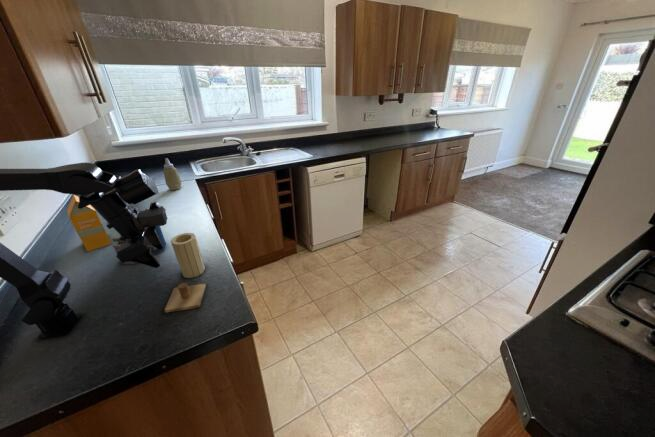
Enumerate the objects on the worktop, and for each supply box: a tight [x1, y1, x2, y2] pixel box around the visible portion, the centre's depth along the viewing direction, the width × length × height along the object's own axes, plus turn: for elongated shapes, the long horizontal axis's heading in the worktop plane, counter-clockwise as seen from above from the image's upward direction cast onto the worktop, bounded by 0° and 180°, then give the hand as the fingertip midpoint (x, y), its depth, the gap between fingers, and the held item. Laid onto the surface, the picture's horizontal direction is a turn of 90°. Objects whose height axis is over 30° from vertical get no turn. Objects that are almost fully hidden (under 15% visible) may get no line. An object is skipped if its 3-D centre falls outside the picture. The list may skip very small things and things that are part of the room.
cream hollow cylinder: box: [170, 232, 206, 279], centre depth 87 cm, size 7×7×13 cm
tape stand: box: [164, 282, 207, 314], centre depth 78 cm, size 9×9×5 cm
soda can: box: [150, 226, 167, 255], centre depth 99 cm, size 7×7×12 cm
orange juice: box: [66, 194, 112, 252], centre depth 102 cm, size 8×9×20 cm
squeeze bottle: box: [163, 157, 182, 191], centre depth 154 cm, size 8×8×18 cm
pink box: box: [111, 236, 137, 265], centre depth 93 cm, size 8×3×10 cm, turn 92°
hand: (160, 257), depth 73 cm, fingers open, 9 cm apart
